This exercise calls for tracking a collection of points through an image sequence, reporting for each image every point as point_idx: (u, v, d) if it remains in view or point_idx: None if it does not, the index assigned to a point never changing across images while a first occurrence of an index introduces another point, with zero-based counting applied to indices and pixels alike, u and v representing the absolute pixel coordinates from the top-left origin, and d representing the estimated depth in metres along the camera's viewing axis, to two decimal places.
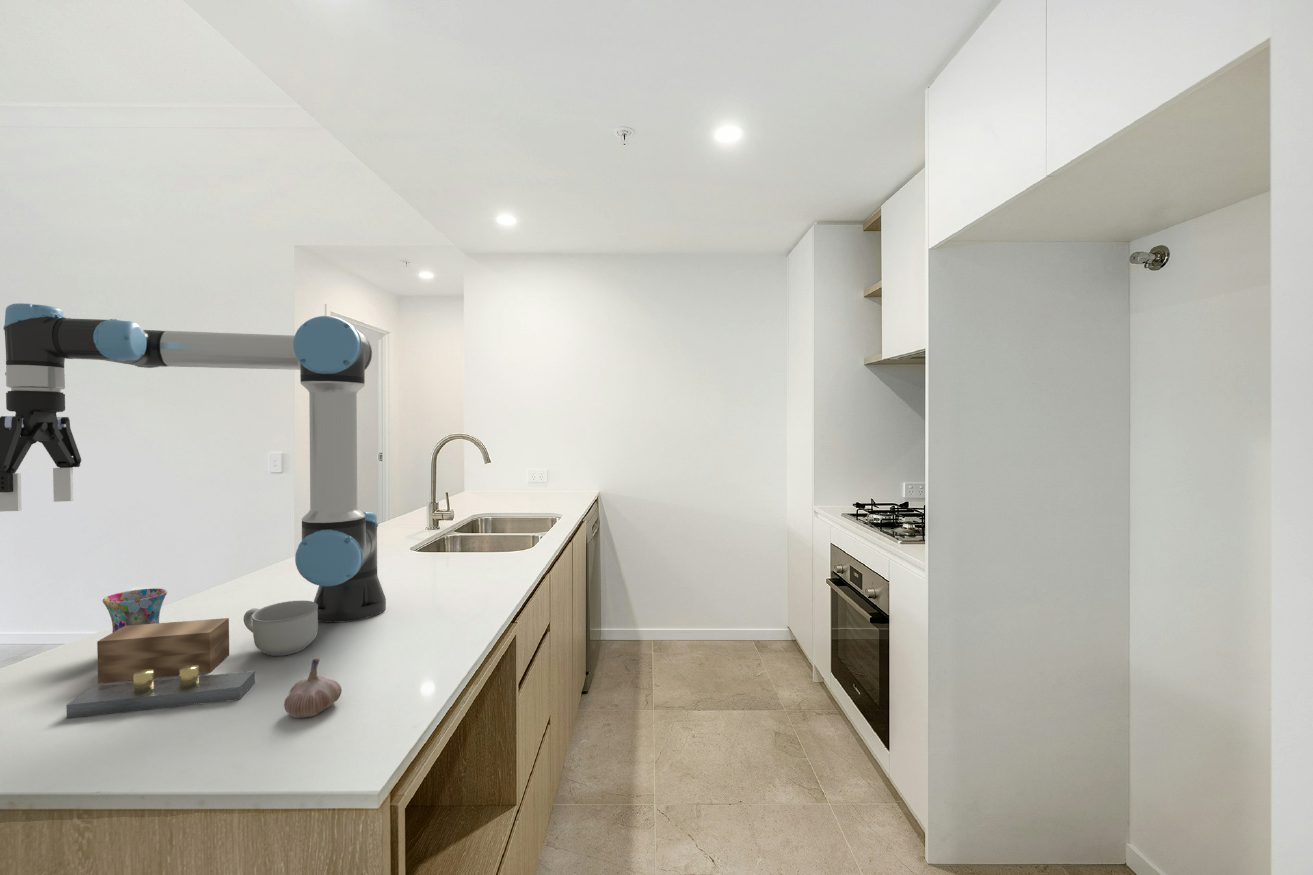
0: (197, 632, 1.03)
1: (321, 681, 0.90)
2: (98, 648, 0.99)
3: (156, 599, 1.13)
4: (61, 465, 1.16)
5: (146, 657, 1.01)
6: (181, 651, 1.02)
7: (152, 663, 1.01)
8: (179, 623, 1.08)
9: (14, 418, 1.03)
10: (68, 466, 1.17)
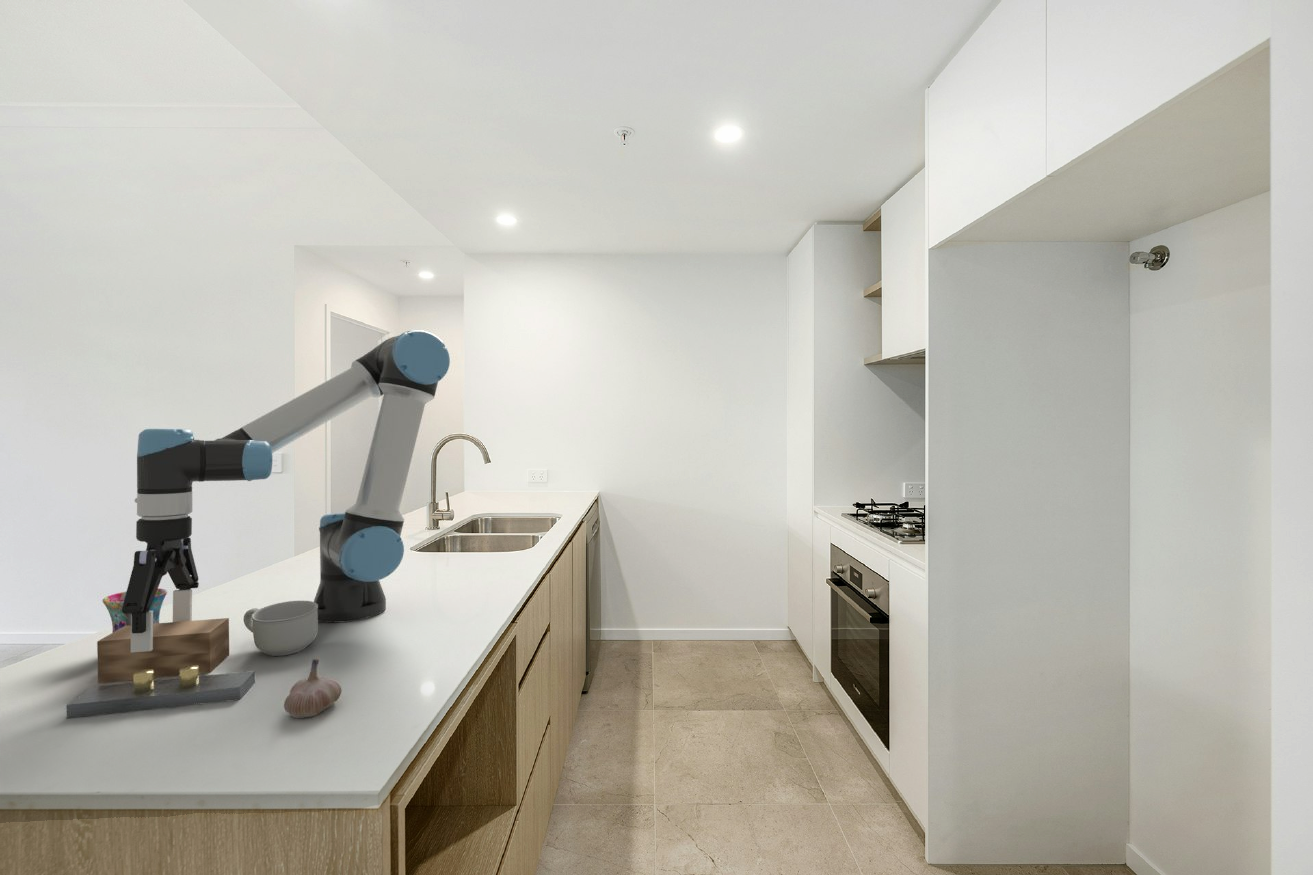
0: (197, 632, 1.03)
1: (321, 681, 0.90)
2: (98, 648, 0.99)
3: (156, 599, 1.13)
4: (180, 587, 1.11)
5: (146, 657, 1.01)
6: (181, 651, 1.02)
7: (152, 663, 1.01)
8: (179, 623, 1.08)
9: (149, 553, 0.98)
10: (187, 588, 1.12)
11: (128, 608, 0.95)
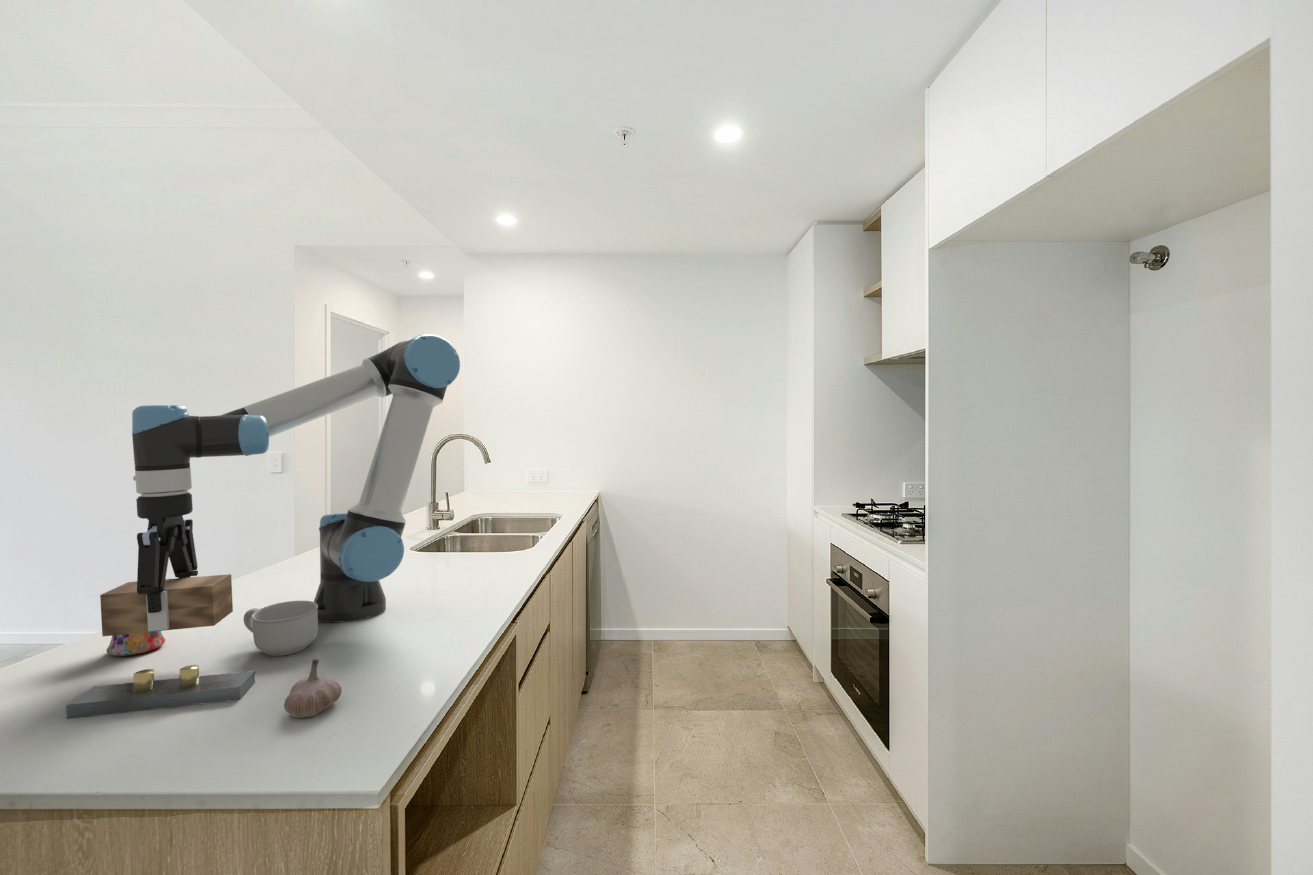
0: (199, 586, 1.04)
1: (321, 681, 0.90)
2: (101, 602, 0.99)
3: None
4: (180, 575, 1.10)
5: None
6: (184, 604, 1.03)
7: None
8: (182, 579, 1.08)
9: (151, 535, 0.99)
10: (186, 575, 1.10)
11: (143, 589, 0.98)
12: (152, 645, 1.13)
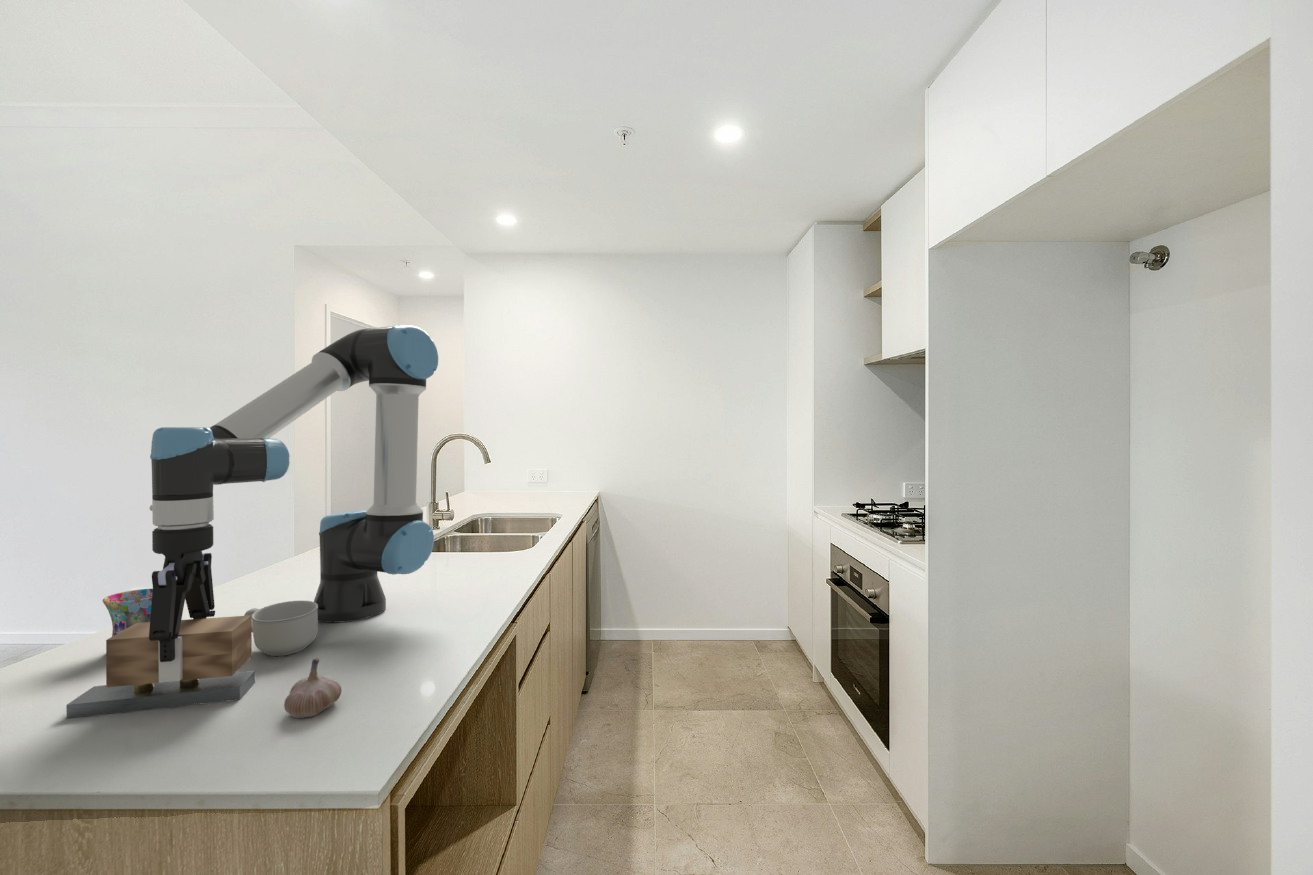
0: (217, 630, 0.92)
1: (321, 681, 0.90)
2: (107, 648, 0.88)
3: None
4: (195, 616, 0.98)
5: None
6: (200, 652, 0.91)
7: None
8: (197, 620, 0.97)
9: (168, 575, 0.87)
10: (202, 616, 0.98)
11: (156, 636, 0.86)
12: None
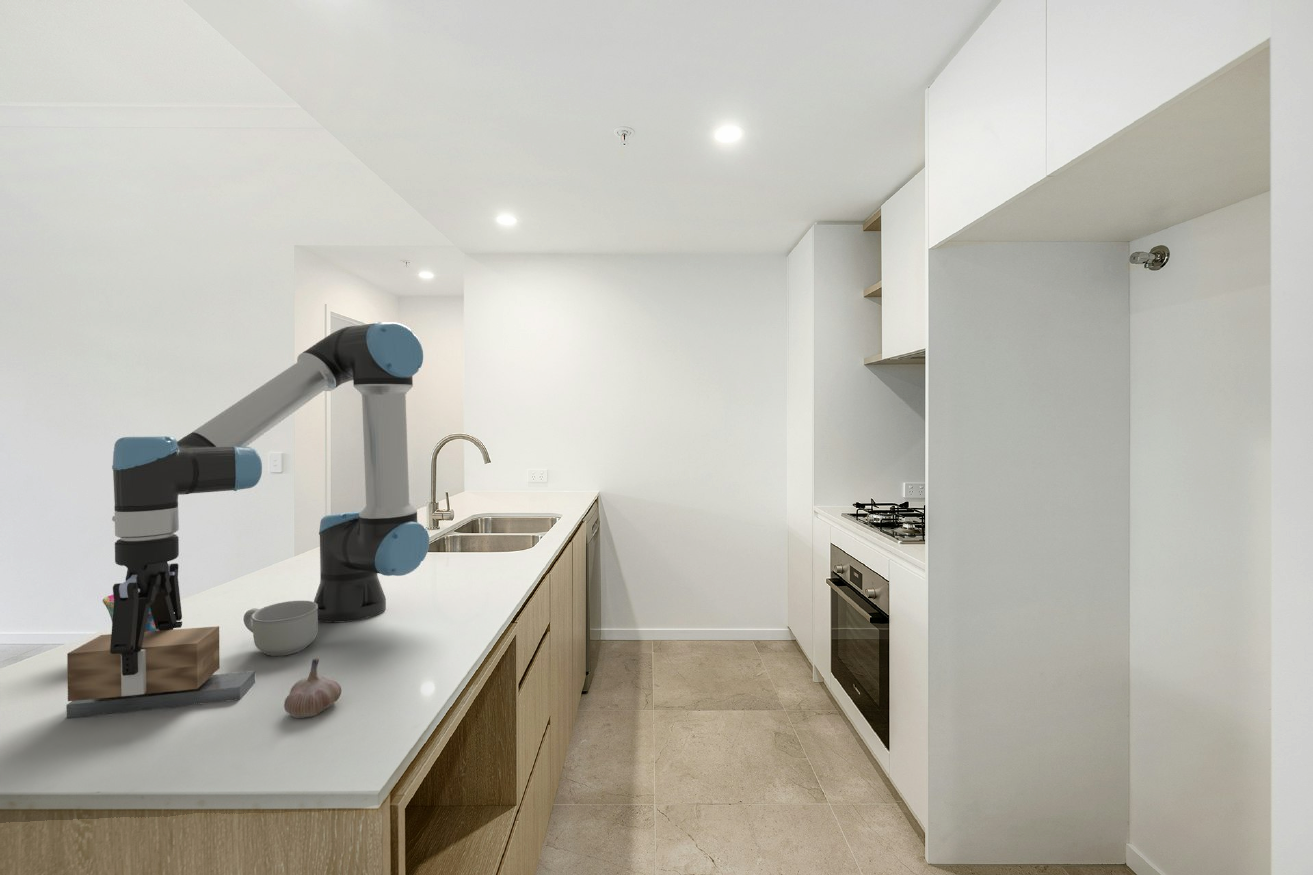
0: (182, 643, 0.91)
1: (321, 681, 0.90)
2: (68, 661, 0.87)
3: None
4: (161, 627, 0.97)
5: None
6: (164, 665, 0.90)
7: None
8: (163, 632, 0.95)
9: (129, 587, 0.86)
10: (169, 627, 0.97)
11: (117, 650, 0.85)
12: None
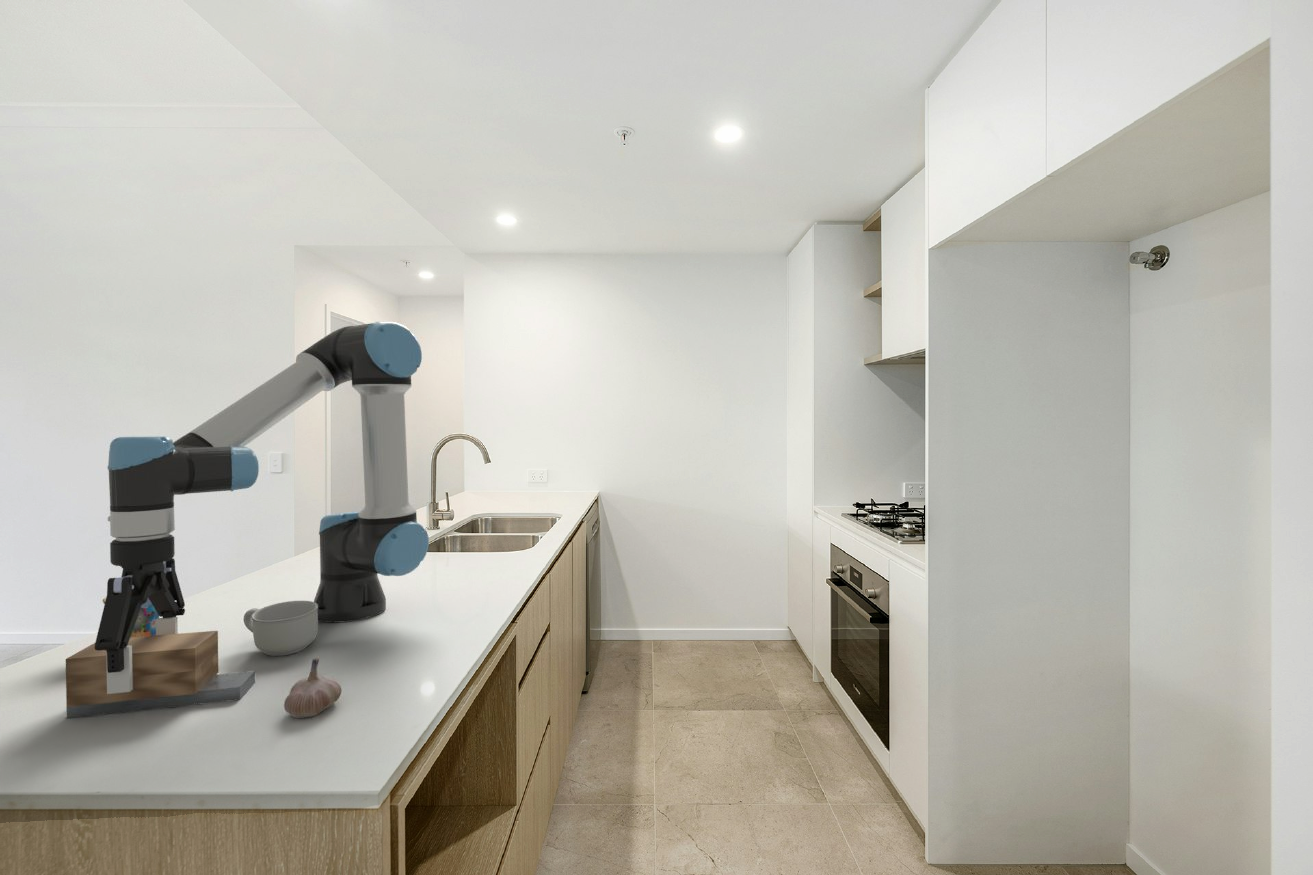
0: (180, 647, 0.91)
1: (321, 681, 0.90)
2: (67, 667, 0.87)
3: None
4: (164, 615, 0.99)
5: None
6: (162, 670, 0.90)
7: None
8: (161, 637, 0.95)
9: (124, 580, 0.86)
10: (172, 615, 0.99)
11: (102, 645, 0.83)
12: None
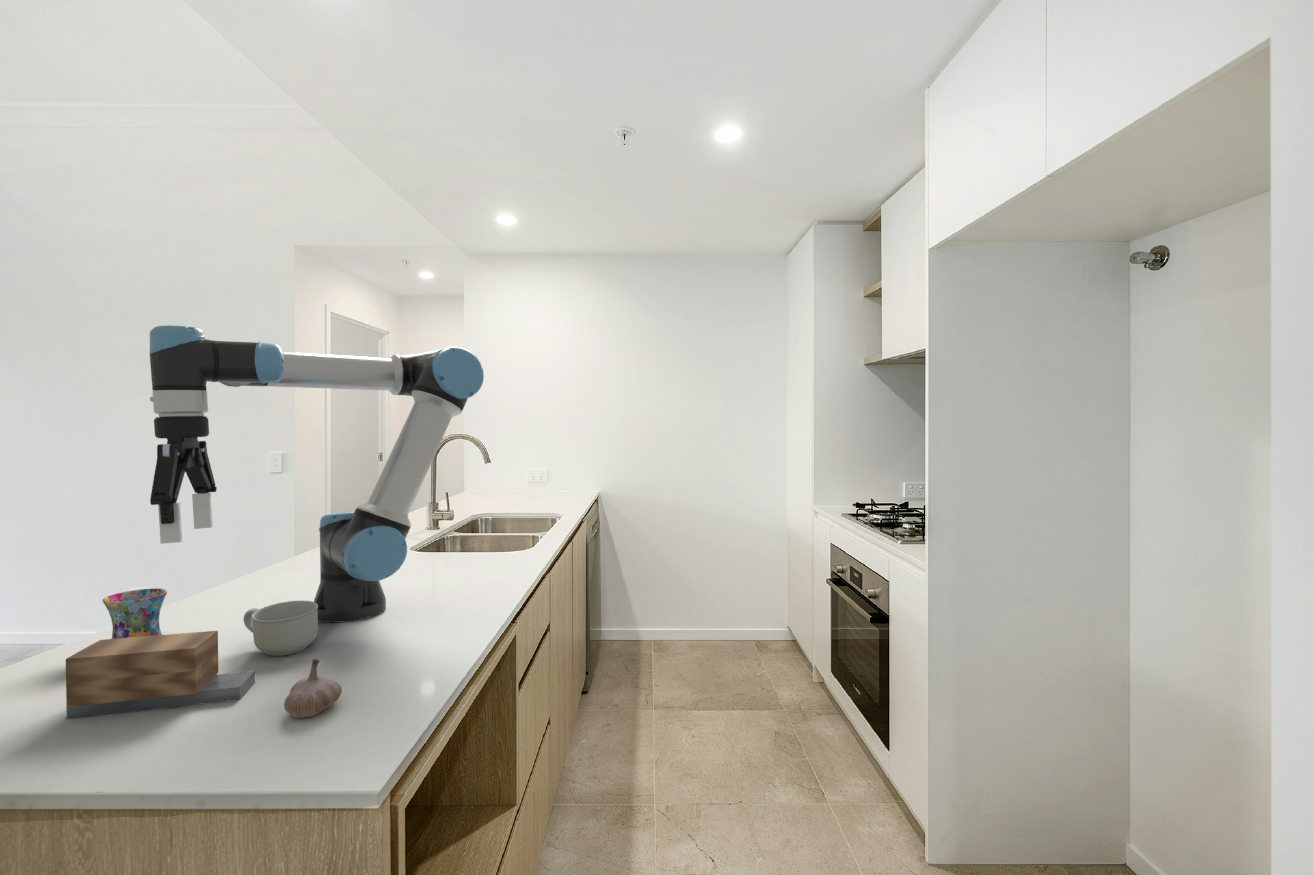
0: (180, 647, 0.91)
1: (321, 681, 0.90)
2: (67, 667, 0.87)
3: (156, 599, 1.13)
4: (199, 491, 1.12)
5: (122, 677, 0.88)
6: (162, 670, 0.90)
7: (129, 684, 0.89)
8: (161, 637, 0.95)
9: (172, 446, 0.99)
10: (206, 491, 1.13)
11: (157, 497, 0.96)
12: None
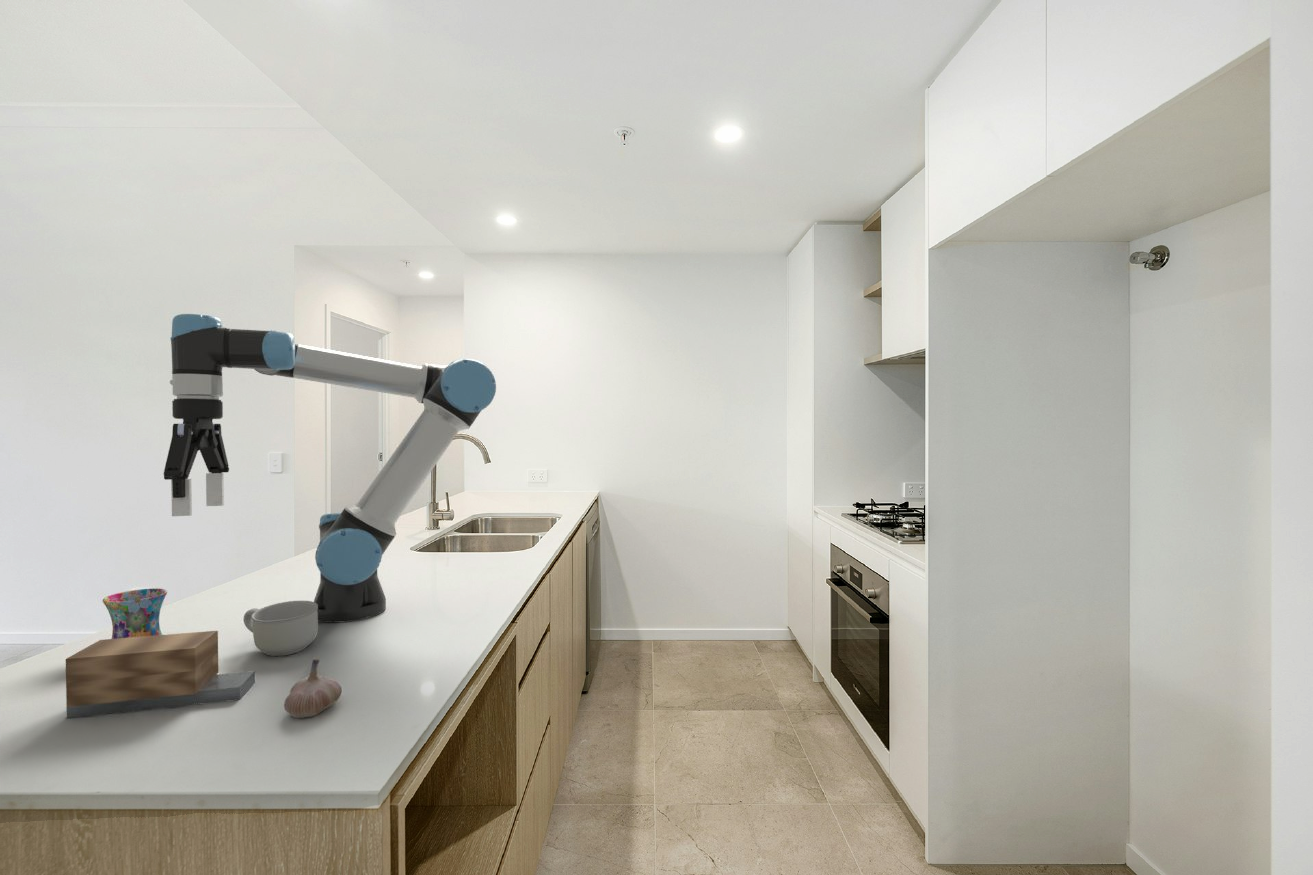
0: (180, 647, 0.91)
1: (321, 681, 0.90)
2: (67, 667, 0.87)
3: (156, 599, 1.13)
4: (213, 470, 1.19)
5: (122, 677, 0.88)
6: (162, 670, 0.90)
7: (129, 684, 0.89)
8: (161, 637, 0.95)
9: (186, 425, 1.06)
10: (219, 471, 1.20)
11: (169, 472, 1.03)
12: None
